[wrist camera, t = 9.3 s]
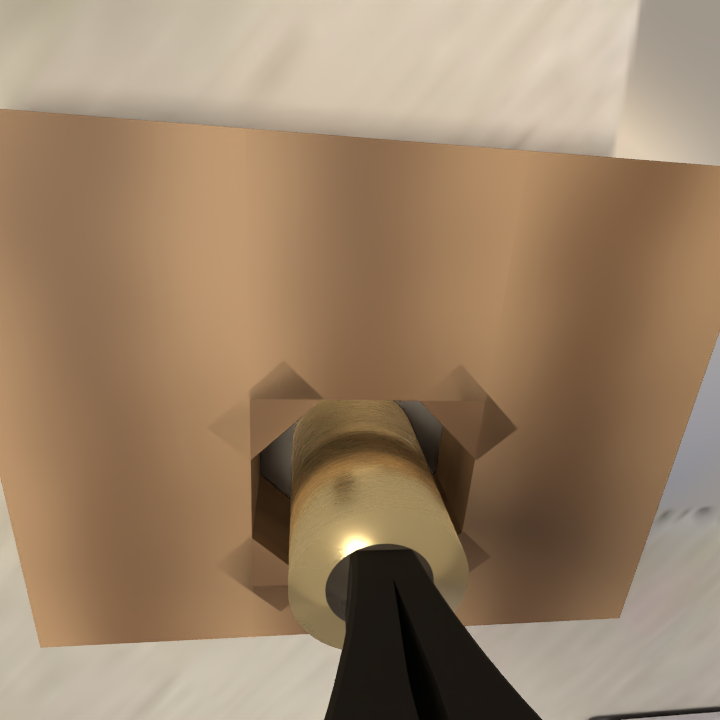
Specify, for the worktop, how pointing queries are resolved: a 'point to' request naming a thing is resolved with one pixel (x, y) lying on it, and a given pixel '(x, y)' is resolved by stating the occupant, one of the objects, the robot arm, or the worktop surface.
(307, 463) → the bushing
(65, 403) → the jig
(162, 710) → the worktop surface
